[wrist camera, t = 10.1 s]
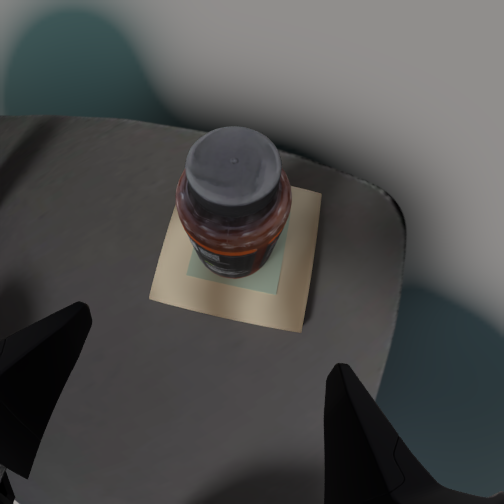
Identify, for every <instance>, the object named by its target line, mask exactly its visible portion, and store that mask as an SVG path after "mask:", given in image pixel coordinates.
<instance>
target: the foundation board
mask: <svg viewBox="0 0 504 504" xmlns="http://www.w3.org/2000/svg"><path fill="white" fill-rule="evenodd" d="M291 192H292V204H291V210H290V214H289V217H288V219H287V221H286V224H285V226H284V229H283V231H282V233H281V234H280V236H279V239H278V240H277V243H276V245H275V247H274V249H273V251H272V253H271V255H270V256H269V258H268V260H267V261H266V263H265V264H264V265H263V266H262V268H260V269H259V270H258V271H256V272H255V273H253V274H251V275H249V276H247V277H243V278H238V279H231V278H230V279H229V278H225V277H221V276H218V275H217V274H214V273H213V272H211V271H210V270H209V269H208V268H206V267H205V266H204V264H203V263H202V262H201V260H200V259H199V257H198V255H197V253H196V251H195V249H194V247H193V245H192V243H191V241H190V239H189V237H188V235H187V233H186V231H185V230H184V227H183V225H182V223H181V221H180V219H179V215H178V212H177V207H176V205H175V208H174V211H173V215H172V218H171V221H170V224H169V227H168V230H167V234H166V237H165V240H164V244H163V247H162V251H161V254H160V258H159V261H158V265H157V269H156V272H155V276H154V280H153V284H152V288H151V292H150V296H149V299H151V300H154V301H158V302H162V303H165V304H169V305H173V306H177V307H180V308H184V309H188V310H192V311H197V312H201V313H205V314H209V315H213V316H218V317H222V318H227V319H231V320H236V321H241V322H245V323H250V324H255V325H260V326H265V327H271V328H276V329H281V330H287V331H293V332H300V333H301V331H302V326H303V320H304V315H305V309H306V304H307V298H308V292H309V286H310V279H311V273H312V266H313V260H314V253H315V246H316V238H317V230H318V222H319V214H320V205H321V196H322V194H321V193H317V192H314V191H310V190H306V189H302V188H298V187H294V186H291Z"/></svg>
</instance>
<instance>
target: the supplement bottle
mask: <svg viewBox="0 0 504 504" xmlns="http://www.w3.org/2000/svg"><path fill="white" fill-rule="evenodd" d="M291 204H292V192H291V186H290V183H289V180H288V177H287V175H286V173H285V171H284V170H283V168H282V162H281V157H280V154H279V152H278V150H277V148H276V147H275V145H274V144H273V143H272V142H271V141H270V140H269V139H268V138H267V137H266V136H265V135H263V134H261V133H259V132H257V131H256V130H252V129H249V128H245V127H238V126H233V127H223V128H219V129H216V130H213V131H211V132H209V133H207V134H205V135H204V136H202V137H201V138H199V139H198V140H197V141H196V142H195V144H194V145H193V146H192V147H191V149H190V151H189V153H188V156H187V159H186V164H185V170H184V171H183V173H182V175H181V177H180V179H179V182H178V185H177V189H176V207H177V212H178V215H179V219H180V221H181V223H182V225H183V227H184V230H185V231H186V233H187V235H188V237H189V239H190V241H191V243H192V245H193V247H194V249H195V251H196V253H197V255H198V257H199V259H200V260H201V262H202V263H203V264H204V266H205V267H206V268H208V269H209V270H210V271H211V272H213V273H214V274H217V275H218V276H221V277H225V278H229V279H230V278H231V279H238V278H243V277H247V276H249V275H251V274H253V273H255V272H256V271H258V270H259V269H260V268H262V266H263V265H264V264H265V263H266V261H267V260H268V258H269V256H270V255H271V253H272V251H273V249H274V247H275V245H276V243H277V240H278V239H279V236H280V234H281V233H282V231H283V229H284V226H285V224H286V221H287V219H288V217H289V214H290V210H291Z"/></svg>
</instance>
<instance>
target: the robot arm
mask: <svg viewBox="0 0 504 504" xmlns="http://www.w3.org/2000/svg"><path fill="white" fill-rule="evenodd" d="M91 326H92V317H91V313H90V309H89V306H88V305H87V304H86V303H83V302H80V301H78V302H76V303H73V304H71V305H69V306H67V307H65V308H63V309H61V310H59V311H57V312H55V313H53V314H51V315H49V316H48V317H46V318H44V319H42V320H40V321H38V322H36V323H34V324H32V325H30V326H28V327H26V328H24V329H22V330H20V331H18V332H17V333H15V334H13V335H11V336H9V337H7V338H6V339H3V340H1V341H0V504H13V502H14V499H15V495H14V493H13V490H12V487H11V485H10V482H9V479H8V476H7V473H6V468H8V469H9V470H11V471H13V472H15V473H16V474H18V475H20V476H22V477H24V478H26V479H28V477H29V474H30V471H31V468H32V465H33V462H34V459H35V456H36V453H37V450H38V448H39V445H40V442H41V439H42V437H43V434H44V431H45V429H46V426H47V424H48V422H49V419H50V417H51V414H52V412H53V410H54V408H55V405H56V403H57V401H58V399H59V396H60V394H61V392H62V390H63V388H64V386H65V384H66V382H67V380H68V378H69V375H70V373H71V371H72V370H73V368H74V366H75V364H76V362H77V360H78V357H79V355H80V353H81V350H82V348H83V345H84V343H85V340H86V338H87V335H88V333H89V331H90V328H91ZM324 450H325V491H324V504H504V492H503V491H501V492H498V493H496V494H494V495H492V496H490V497H488V498H485V497H479V496H475V495H471V494H467V493H462V492H459V491H455V490H452V489H448V488H446V487H444V486H442V485H440V484H439V483H438V482H437V481H436V480H435V479H434V478H433V477H432V476H431V475H430V473H429V472H428V471H427V470H426V469H425V468H424V467H423V466H422V464H421V463H420V462H419V461H418V460H417V459H416V457H415V456H414V455H413V454H412V453H411V451H410V450H409V449H408V447H407V446H406V445H405V443H404V442H403V440H402V439H401V437H399V436H398V433H397V432H396V431H395V429H394V428H393V426H392V425H391V423H390V422H389V421H388V419H387V418H386V416H385V415H384V414H383V412H382V411H381V409H380V408H379V406H378V405H377V404H376V402H375V401H374V399H373V398H372V397H371V395H370V394H369V392H368V391H367V390H366V388H365V387H364V385H363V384H362V383H361V381H360V380H359V379H358V377H357V376H356V374H355V373H354V372H353V370H352V369H351V367H350V366H349V365H348V364H343V363H337V364H336V365H335V366H334V368H333V369H332V371H331V372H330V373H329V375H328V377H327V380H326V393H325V407H324Z"/></svg>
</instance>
